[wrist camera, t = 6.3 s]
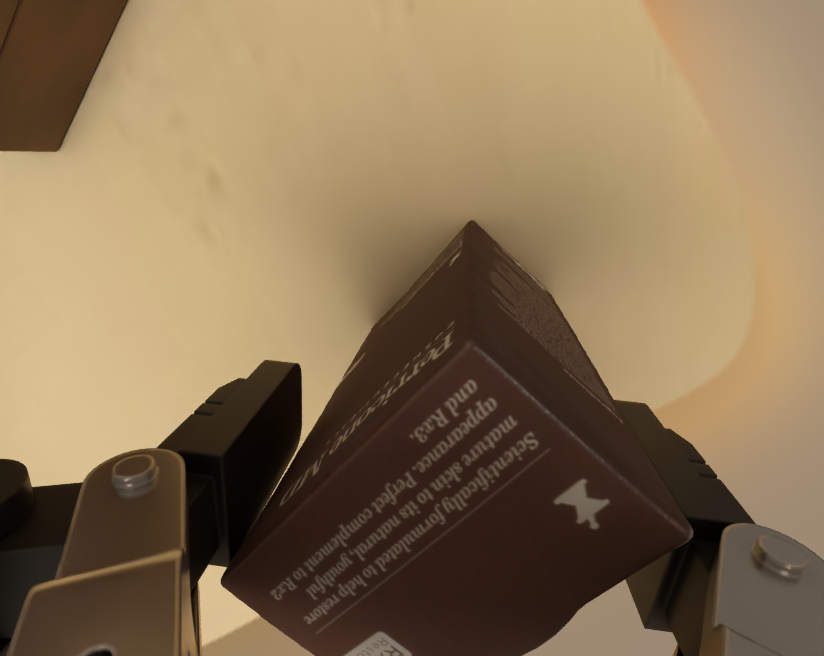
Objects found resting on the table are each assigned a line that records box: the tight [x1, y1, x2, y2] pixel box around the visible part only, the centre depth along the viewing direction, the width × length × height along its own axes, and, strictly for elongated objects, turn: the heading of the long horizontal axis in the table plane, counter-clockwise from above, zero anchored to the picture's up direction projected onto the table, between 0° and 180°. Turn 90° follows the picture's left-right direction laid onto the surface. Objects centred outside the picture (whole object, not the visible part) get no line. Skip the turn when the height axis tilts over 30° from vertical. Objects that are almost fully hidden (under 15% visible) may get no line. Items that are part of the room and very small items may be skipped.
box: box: [221, 221, 693, 656], centre depth 12 cm, size 6×4×12 cm
